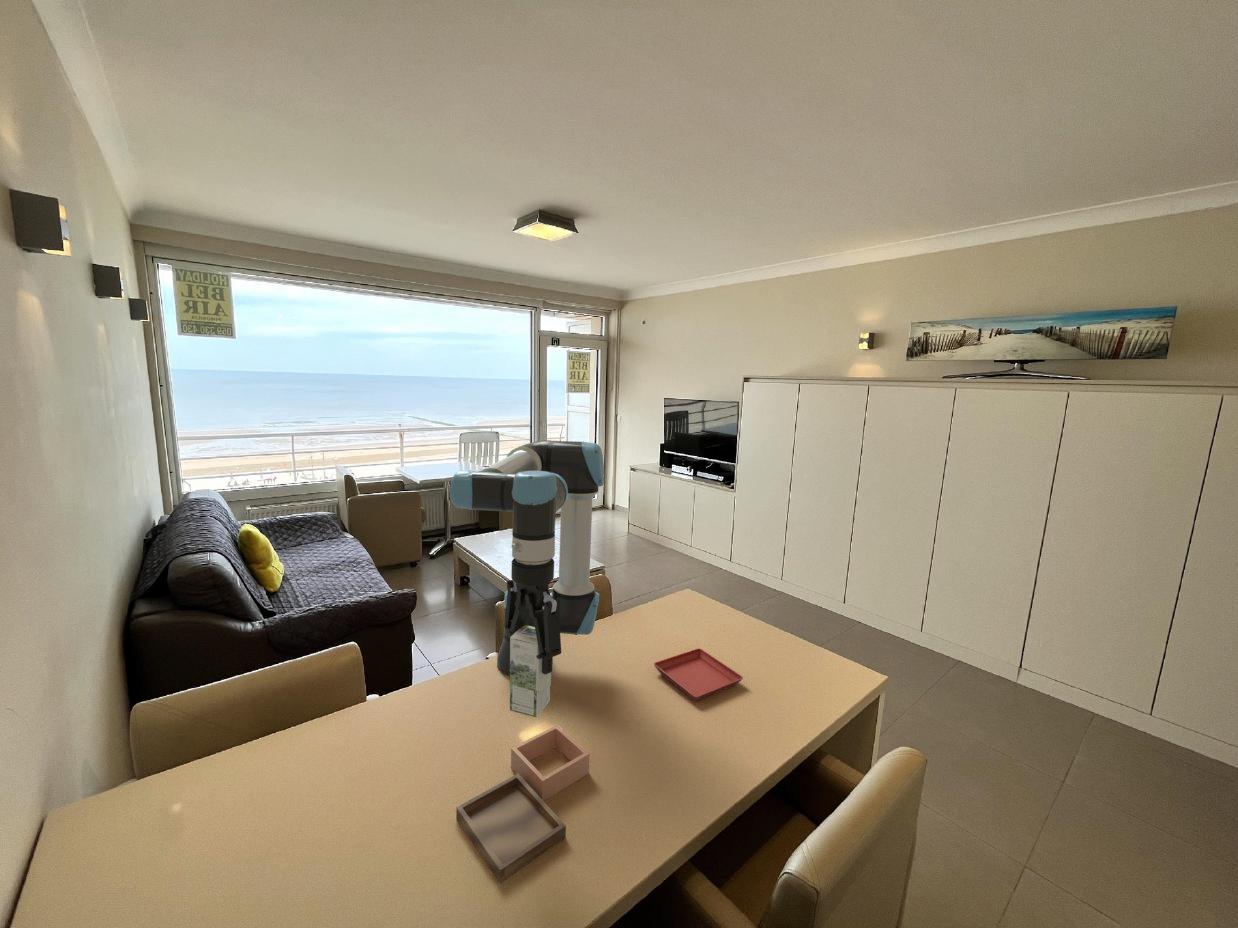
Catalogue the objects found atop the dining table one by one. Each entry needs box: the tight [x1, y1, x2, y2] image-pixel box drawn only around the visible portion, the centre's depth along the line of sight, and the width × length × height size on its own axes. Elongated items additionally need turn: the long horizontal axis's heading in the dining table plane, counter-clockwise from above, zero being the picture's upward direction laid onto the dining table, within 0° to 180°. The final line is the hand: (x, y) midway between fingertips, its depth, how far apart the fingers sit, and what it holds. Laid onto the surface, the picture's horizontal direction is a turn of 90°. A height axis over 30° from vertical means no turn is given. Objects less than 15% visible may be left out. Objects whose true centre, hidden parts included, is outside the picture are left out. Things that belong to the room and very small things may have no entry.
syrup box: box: [509, 625, 551, 718], centre depth 93 cm, size 6×6×14 cm
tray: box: [455, 773, 567, 884], centre depth 91 cm, size 16×13×2 cm
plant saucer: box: [653, 647, 744, 702], centre depth 141 cm, size 18×18×3 cm
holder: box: [510, 724, 591, 802], centre depth 105 cm, size 12×12×4 cm
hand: (530, 677), depth 93 cm, fingers closed on syrup box, 8 cm apart
